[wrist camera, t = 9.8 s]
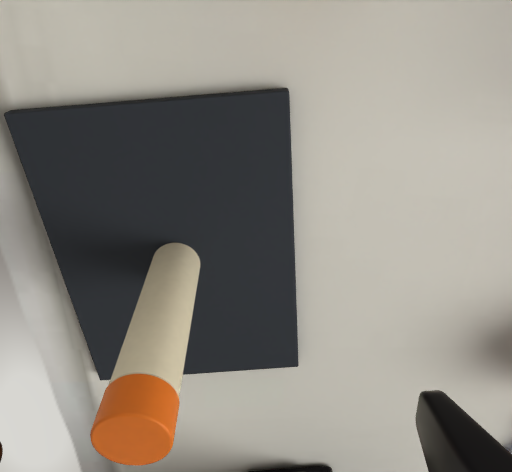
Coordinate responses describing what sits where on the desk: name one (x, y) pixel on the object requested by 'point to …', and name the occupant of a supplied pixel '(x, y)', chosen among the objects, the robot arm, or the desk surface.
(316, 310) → the desk surface
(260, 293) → the mat
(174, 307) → the glue stick
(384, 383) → the desk surface
